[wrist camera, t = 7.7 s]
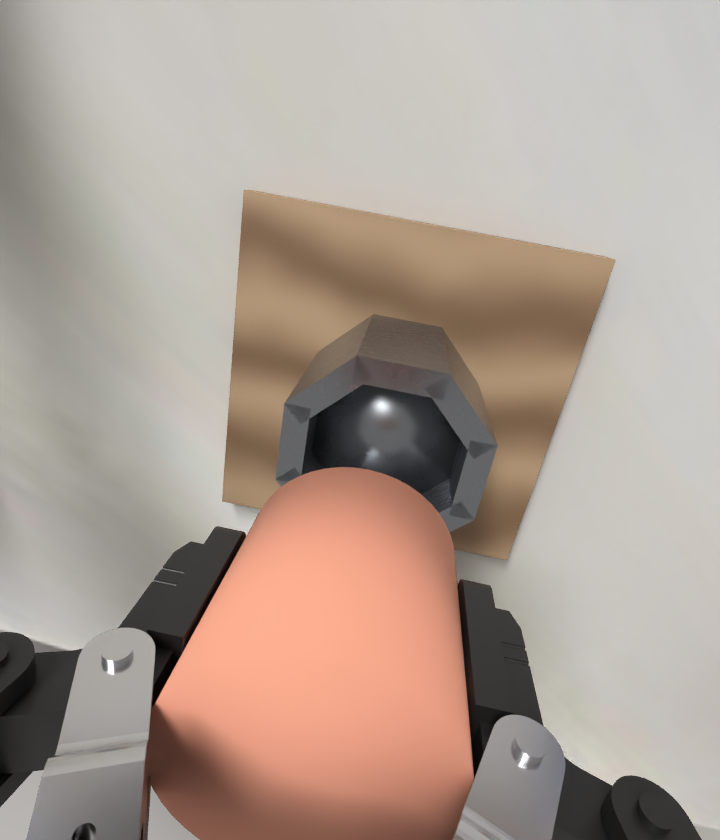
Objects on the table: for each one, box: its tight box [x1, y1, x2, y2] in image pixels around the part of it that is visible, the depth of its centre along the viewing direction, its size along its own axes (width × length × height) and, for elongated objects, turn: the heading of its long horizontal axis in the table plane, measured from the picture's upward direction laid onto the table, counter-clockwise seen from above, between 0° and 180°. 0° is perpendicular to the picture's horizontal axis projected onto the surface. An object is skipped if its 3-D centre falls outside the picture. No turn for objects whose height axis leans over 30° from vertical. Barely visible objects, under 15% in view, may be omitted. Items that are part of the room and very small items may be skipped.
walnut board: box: [222, 190, 616, 560], centre depth 32 cm, size 20×20×2 cm
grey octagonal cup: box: [275, 314, 498, 532], centre depth 27 cm, size 10×10×8 cm
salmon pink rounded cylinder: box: [147, 467, 474, 840], centre depth 11 cm, size 6×6×6 cm
